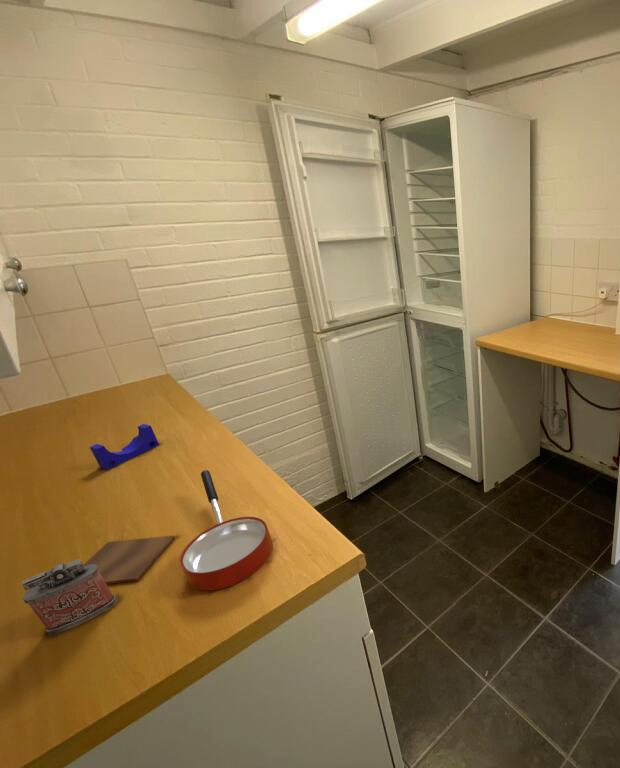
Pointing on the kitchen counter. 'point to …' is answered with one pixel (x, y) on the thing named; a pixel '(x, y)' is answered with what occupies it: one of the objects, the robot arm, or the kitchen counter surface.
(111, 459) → the blue notched block
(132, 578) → the plate
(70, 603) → the lighter
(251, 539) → the frying pan
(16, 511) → the kitchen counter surface
